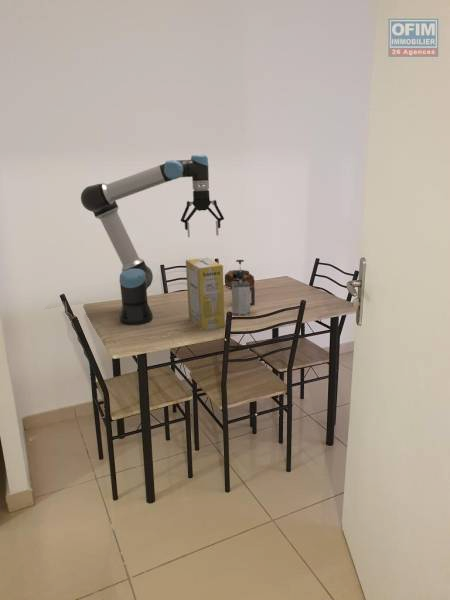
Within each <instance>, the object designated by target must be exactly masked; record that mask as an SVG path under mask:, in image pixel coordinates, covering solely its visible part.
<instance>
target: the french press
mask: <svg viewBox="0 0 450 600" xmlns="http://www.w3.org/2000/svg"><path fill="white" fill-rule="evenodd" d="M235 262H236V263H238V264H239V265H241V264H242V263H243V262H245V260H244V259H236V260H235ZM235 270H236V271H232V270H231V271H232V272H231V273H232V277H233V278H238V277H237V275H236V272H237V271H238V270H243V269H241V266H239V269H235ZM243 271H244V273H245V275H247V276H248V273H249V274H250V271H249V270H246V269H245V270H243ZM233 281H239V280H237V279H235V280H233ZM242 281H245V280H244V279H242ZM247 281H248V280H247ZM248 282H249V281H248Z"/></svg>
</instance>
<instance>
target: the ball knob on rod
mask: <svg viewBox="0 0 450 600" xmlns="http://www.w3.org/2000/svg"><path fill="white" fill-rule="evenodd" d="M237 270H238V271H237V272H236V275H237V277H238V279H239V284H241V283H242V279H243V277H244V275H245V273H244V271H243V269H241V270H240V269H237Z"/></svg>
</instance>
